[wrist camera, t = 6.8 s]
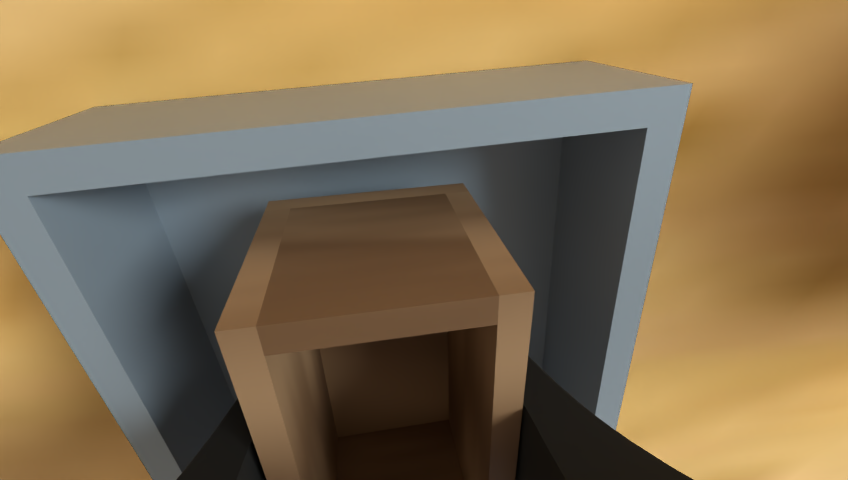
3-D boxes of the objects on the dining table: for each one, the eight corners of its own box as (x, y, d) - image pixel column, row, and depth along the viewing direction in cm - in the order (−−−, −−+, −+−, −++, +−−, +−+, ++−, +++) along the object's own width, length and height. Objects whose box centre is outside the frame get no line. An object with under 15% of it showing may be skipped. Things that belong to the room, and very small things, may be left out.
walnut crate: (461, 414, 16) (505, 570, 11) (323, 436, 15) (312, 609, 11) (463, 182, 11) (535, 290, 7) (269, 201, 11) (214, 331, 6)
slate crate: (551, 389, 19) (602, 488, 15) (238, 441, 18) (204, 563, 14) (586, 60, 12) (692, 83, 9) (94, 107, 11) (-47, 158, 7)
